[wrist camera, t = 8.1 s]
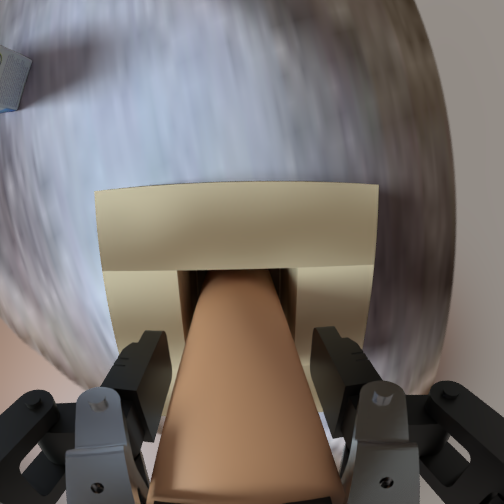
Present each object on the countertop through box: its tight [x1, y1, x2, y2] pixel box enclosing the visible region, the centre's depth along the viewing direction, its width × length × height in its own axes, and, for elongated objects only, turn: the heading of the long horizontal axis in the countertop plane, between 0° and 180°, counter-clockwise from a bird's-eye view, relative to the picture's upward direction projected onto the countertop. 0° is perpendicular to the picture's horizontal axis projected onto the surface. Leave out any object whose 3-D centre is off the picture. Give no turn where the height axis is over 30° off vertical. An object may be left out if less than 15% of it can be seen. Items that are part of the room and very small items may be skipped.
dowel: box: [146, 269, 345, 504], centre depth 11 cm, size 4×4×14 cm
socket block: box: [94, 181, 379, 416], centre depth 16 cm, size 12×12×6 cm
